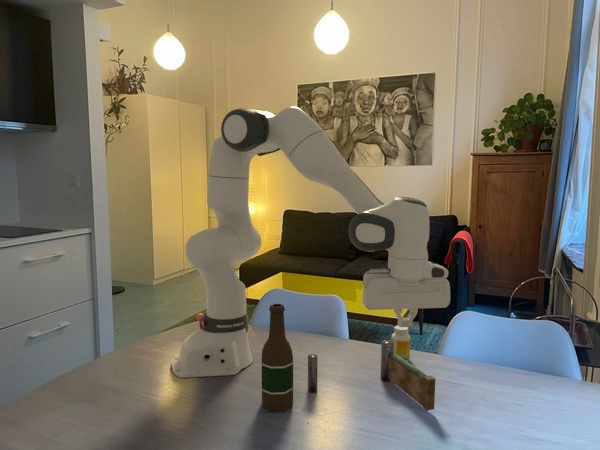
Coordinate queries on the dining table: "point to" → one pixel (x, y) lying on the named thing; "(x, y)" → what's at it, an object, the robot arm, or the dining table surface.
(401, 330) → the supplement bottle
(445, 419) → the dining table surface
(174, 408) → the dining table surface
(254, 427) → the dining table surface
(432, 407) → the brown wooden panel
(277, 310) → the beer bottle
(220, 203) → the robot arm
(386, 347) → the posts
